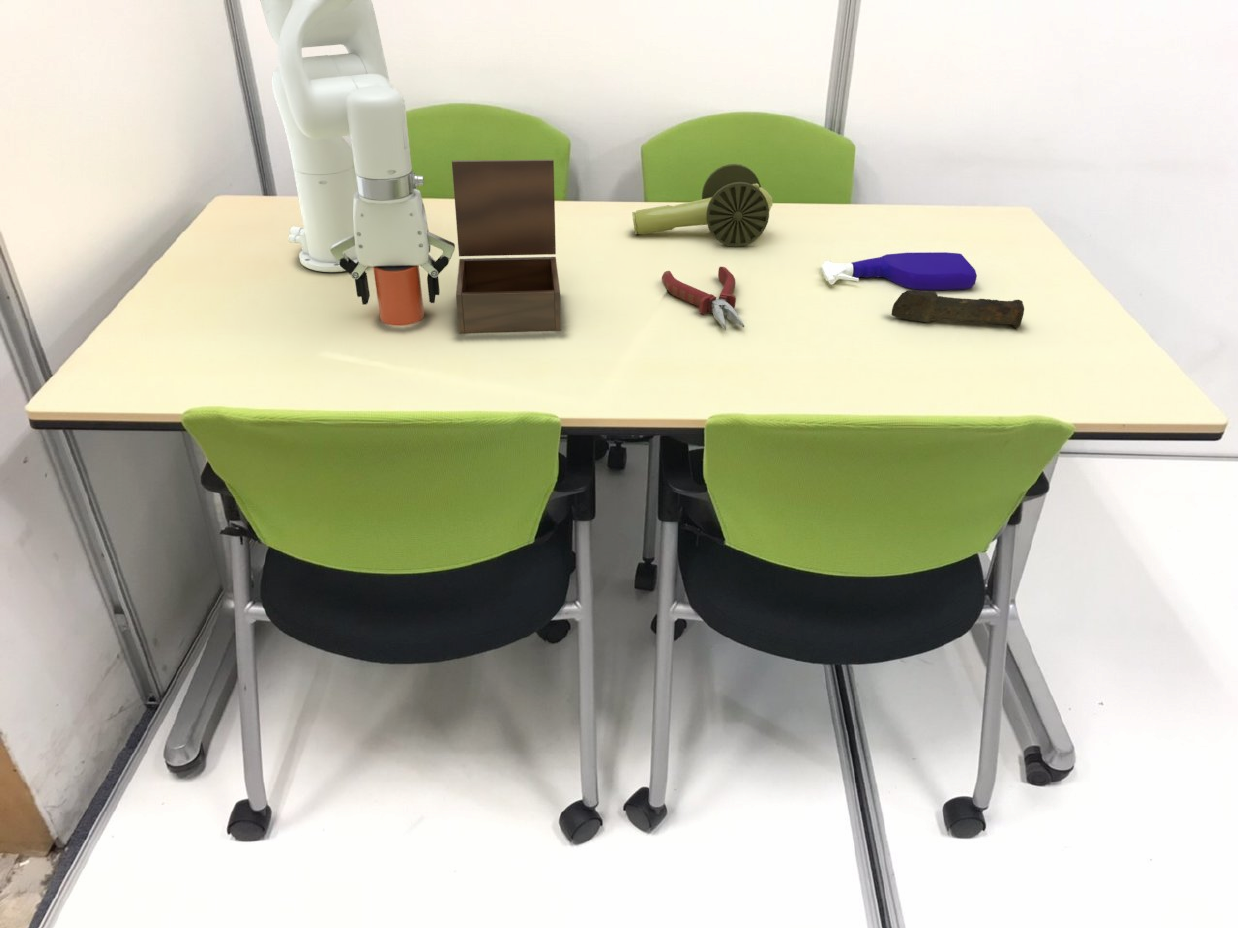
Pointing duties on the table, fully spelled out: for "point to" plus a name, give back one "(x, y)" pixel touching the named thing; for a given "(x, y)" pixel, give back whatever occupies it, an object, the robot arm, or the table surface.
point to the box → (508, 295)
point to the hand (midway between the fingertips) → (399, 300)
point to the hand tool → (956, 309)
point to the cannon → (717, 209)
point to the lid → (504, 207)
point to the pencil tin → (399, 294)
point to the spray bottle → (909, 270)
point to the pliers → (708, 296)
